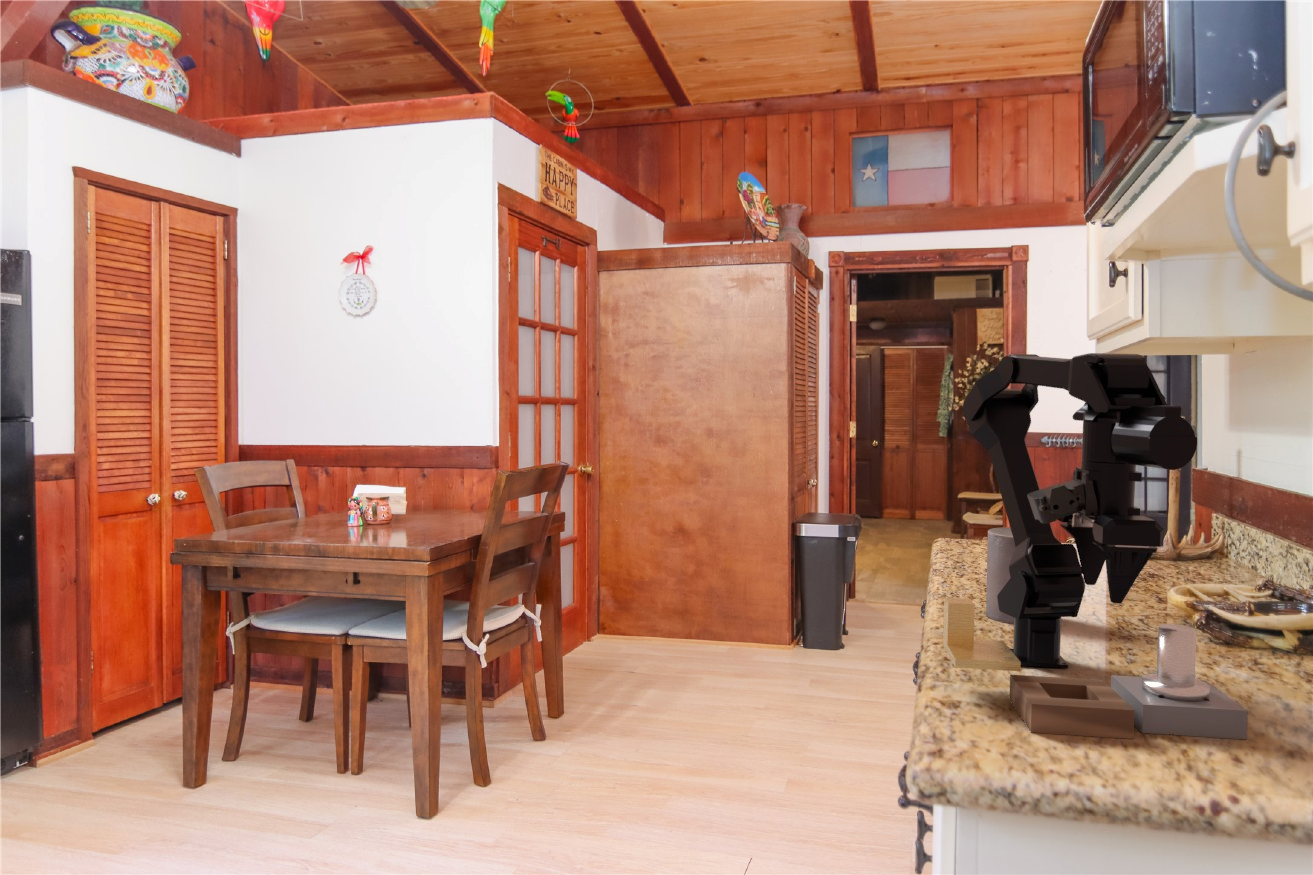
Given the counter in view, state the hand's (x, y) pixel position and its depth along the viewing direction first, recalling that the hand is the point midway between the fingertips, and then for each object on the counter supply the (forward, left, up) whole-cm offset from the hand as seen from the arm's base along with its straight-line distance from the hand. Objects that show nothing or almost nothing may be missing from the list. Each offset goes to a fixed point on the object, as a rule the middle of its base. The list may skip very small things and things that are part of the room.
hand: (1102, 593), depth 107 cm
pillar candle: (-36, -1, -12) cm, 38 cm away
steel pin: (+8, +5, -12) cm, 15 cm away
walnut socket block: (+10, -6, -12) cm, 17 cm away
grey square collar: (+8, +5, -12) cm, 15 cm away
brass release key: (+3, -14, -7) cm, 16 cm away
